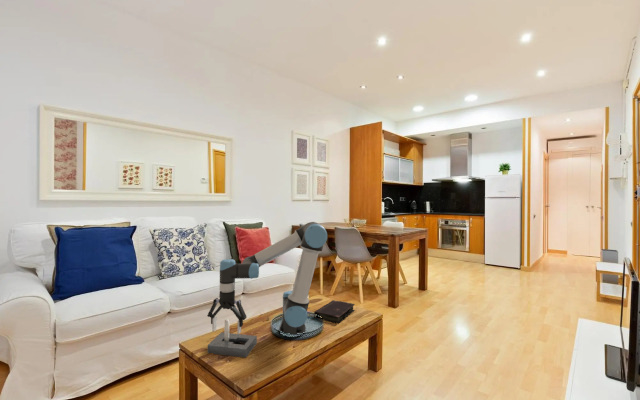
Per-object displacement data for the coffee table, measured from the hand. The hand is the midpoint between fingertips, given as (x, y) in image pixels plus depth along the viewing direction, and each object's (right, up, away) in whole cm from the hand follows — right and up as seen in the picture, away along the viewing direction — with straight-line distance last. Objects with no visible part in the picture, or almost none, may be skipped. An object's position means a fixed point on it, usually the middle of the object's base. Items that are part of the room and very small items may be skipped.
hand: (226, 331), depth 156 cm
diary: (+58, -9, +46) cm, 75 cm away
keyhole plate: (+3, -8, 0) cm, 9 cm away
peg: (0, -8, 0) cm, 8 cm away
